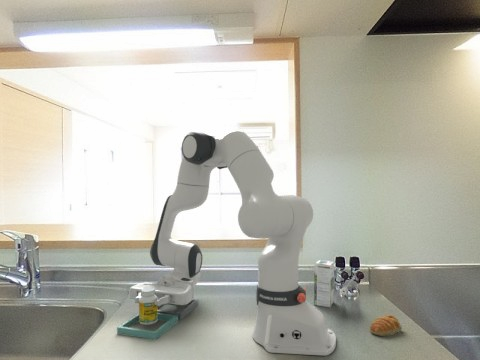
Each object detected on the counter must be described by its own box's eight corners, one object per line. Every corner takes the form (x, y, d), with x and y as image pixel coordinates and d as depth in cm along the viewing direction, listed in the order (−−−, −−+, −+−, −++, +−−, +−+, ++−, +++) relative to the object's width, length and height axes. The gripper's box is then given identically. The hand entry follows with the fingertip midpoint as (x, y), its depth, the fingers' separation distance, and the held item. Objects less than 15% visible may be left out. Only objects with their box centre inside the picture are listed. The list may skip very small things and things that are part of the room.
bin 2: (197, 305, 120) (197, 300, 120) (180, 319, 108) (180, 313, 108) (165, 301, 124) (165, 296, 124) (145, 314, 112) (145, 309, 112)
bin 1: (178, 321, 106) (177, 315, 106) (155, 339, 94) (155, 333, 94) (142, 316, 110) (142, 310, 110) (117, 333, 98) (117, 327, 98)
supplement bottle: (154, 316, 106) (153, 285, 106) (160, 322, 102) (160, 290, 102) (136, 320, 103) (136, 288, 103) (142, 327, 99) (142, 293, 99)
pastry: (385, 340, 93) (385, 326, 93) (363, 332, 98) (363, 319, 98) (403, 331, 99) (403, 317, 99) (381, 323, 104) (381, 311, 104)
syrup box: (317, 299, 124) (317, 259, 124) (334, 302, 121) (334, 261, 121) (313, 305, 119) (313, 263, 118) (331, 308, 116) (331, 265, 116)
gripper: (143, 275, 118) (117, 287, 105) (197, 280, 111) (176, 294, 98) (143, 293, 118) (117, 308, 105) (198, 300, 112) (177, 316, 98)
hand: (146, 302), depth 102 cm, fingers closed on supplement bottle, 5 cm apart
